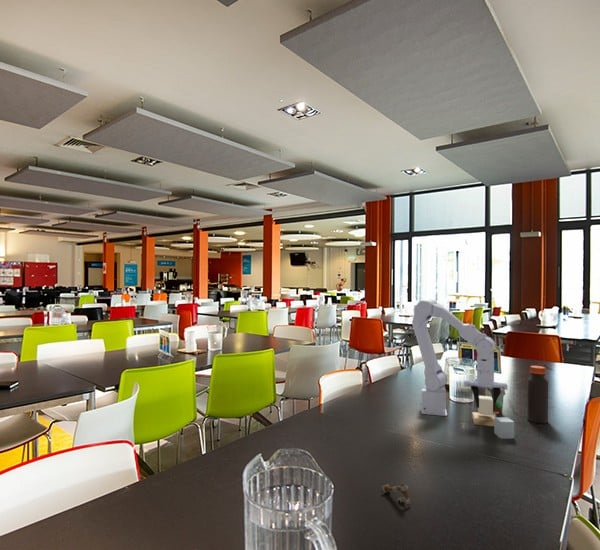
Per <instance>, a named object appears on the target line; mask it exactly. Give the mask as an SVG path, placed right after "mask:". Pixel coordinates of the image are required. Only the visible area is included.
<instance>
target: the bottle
mask: <svg viewBox="0 0 600 550" xmlns="http://www.w3.org/2000/svg"><path fill="white" fill-rule="evenodd" d="M529 369H530V371H529V372H530V377H528V378H527V379H526V380H527V386H526V387H527V388H526V391H527V392H526V395H527V401H526V404H527V405H526V407H527V410H526V415H527V417H526V419H527V421H529V422H531V423H535V424H542V425H543V424H545V425H546V424H548V423H549V380H548V379H547V378H546V377H545V376H546V367H545V366H540V365H530V368H529Z"/></svg>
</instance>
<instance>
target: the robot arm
mask: <svg viewBox="0 0 600 550" xmlns="http://www.w3.org/2000/svg"><path fill="white" fill-rule="evenodd" d="M413 310H414V313H413V317H412V321H411V324H412V328H413V331H414V334H415V338H416V341H417V344H418V347H419V352H420V354H421V355H420V356H421V357H422V362H423V365H424V372H423V374H424V385H425V387H426V388H421V389H420V391H421V392H420V393H421V395H420V401H421V402H420V403H419V404H420V405H419V407H420V409H421V411H420V412H421V414H422V415H423V414H424V415H430V416H431V415H433V416H443V417H448V412H447V408H446V406H447V405H446V404H447V403H446V400H447V399H446V397H447V395H446V394H447V393H446V392H447V389H446V387H445V385H446V384H447V383H448V376H447V374H446V373H445V371H444V370H443V367H442V366H441V365H440V364H439V361H438V359H437V355H436V351H435V349H434V346H433V342H432V339H431V335H430V332H429V329H428V326H427V325H428V323H429V321H430V320H431V318H440V319H442V320H443V321H445V322H446V323H448V324H449V325H450V326H452V327H453V328H455V329H456V330H457V331H458V335H459V336H460V337H461V338H462V339H463V340H465V341H466V342H467V343H468V344H470V345H471V346H473V347H474V348H475V350H476V352H477V356H476V380H463V387H464V388H468V387H469V388H470V389H471V391H472V394H473V397H474V400H475V407H476V408H477V409H478V408H479V396H480V390H479V388H480V389H485V388H491V391H492V399H493V409H494V408H495V404H496V401H497V399H498V397H499V395H500V393H501V390H500V389H504V390H505V391H508V384H507V383H503V382H495V354H494V353H495V352H494V351H495V349H496V342H495V341H494V340H493V338H492V337H490V336H487V334H485V333H482V332H481V331H480V330H478V328H476V325H475V324H470V323H464V322H463V321H462V320H460V319H459V318H458V317H456V316H455V315H454V314H453V313H451V312H450V310H448V309H447V308H445V307H444V305H442V304H440V303H438V302H437V301H436V300H435V299H427V300H425V299H424V300H420V301H419V302H418V303H417V304H416V305H415V307H414V308H413Z"/></svg>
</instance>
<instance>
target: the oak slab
mask: <svg viewBox="0 0 600 550" xmlns="http://www.w3.org/2000/svg"><path fill="white" fill-rule="evenodd" d="M471 413H472V414H471V417H472V420H473V423H474V425H477V426H487V427H494V417H498V416H496V415H495V414H493V415H484V414H479V412H476V411H472V412H471Z"/></svg>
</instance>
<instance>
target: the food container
mask: <svg viewBox="0 0 600 550" xmlns="http://www.w3.org/2000/svg"><path fill="white" fill-rule="evenodd" d="M500 390H501V393H500V395H499V397H498V399H497V401H496V404H495V408H494V409H493V414H495V415H496V416H497V417H499V416H500V417H501V416H502V414H503V405H504V396H505V395H506V390H504V389H500ZM484 396H489V397H492V391H491V388H484Z"/></svg>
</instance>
